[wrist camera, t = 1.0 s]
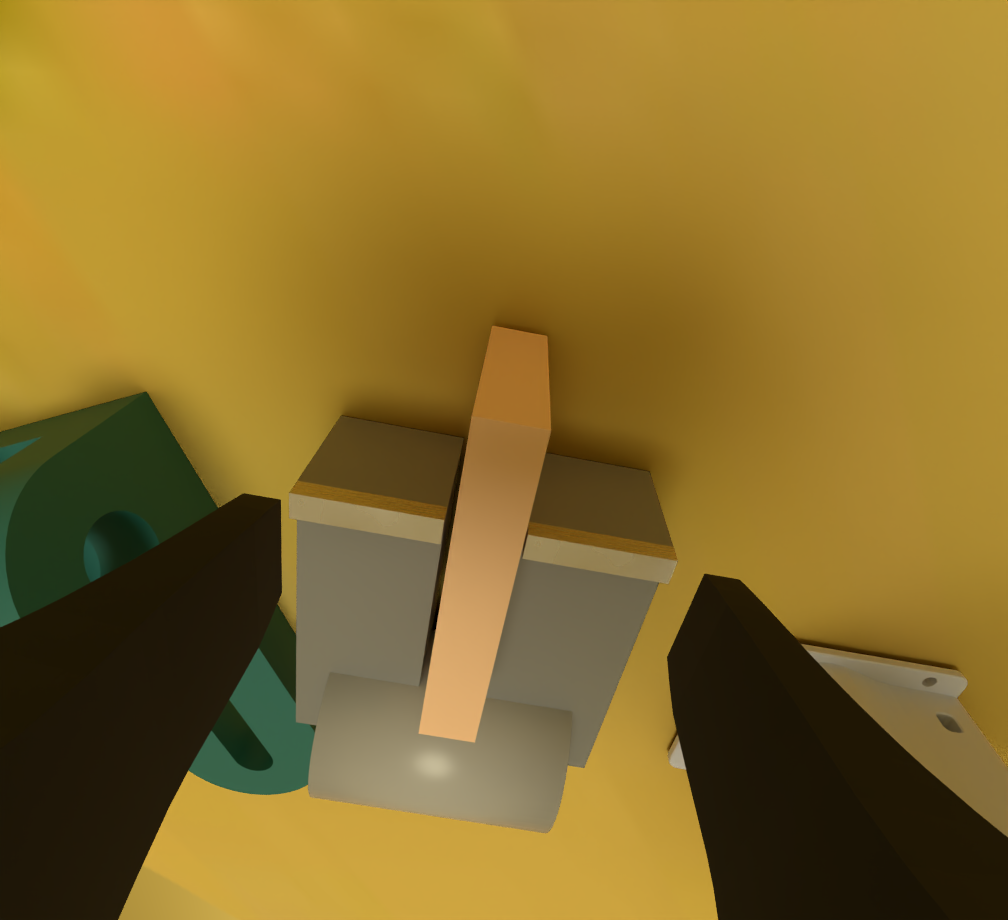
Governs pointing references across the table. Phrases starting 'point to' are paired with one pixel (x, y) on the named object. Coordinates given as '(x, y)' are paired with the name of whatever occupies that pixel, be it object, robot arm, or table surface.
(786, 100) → the table surface
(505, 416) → the orange wooden slat
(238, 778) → the bracket
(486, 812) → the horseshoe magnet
